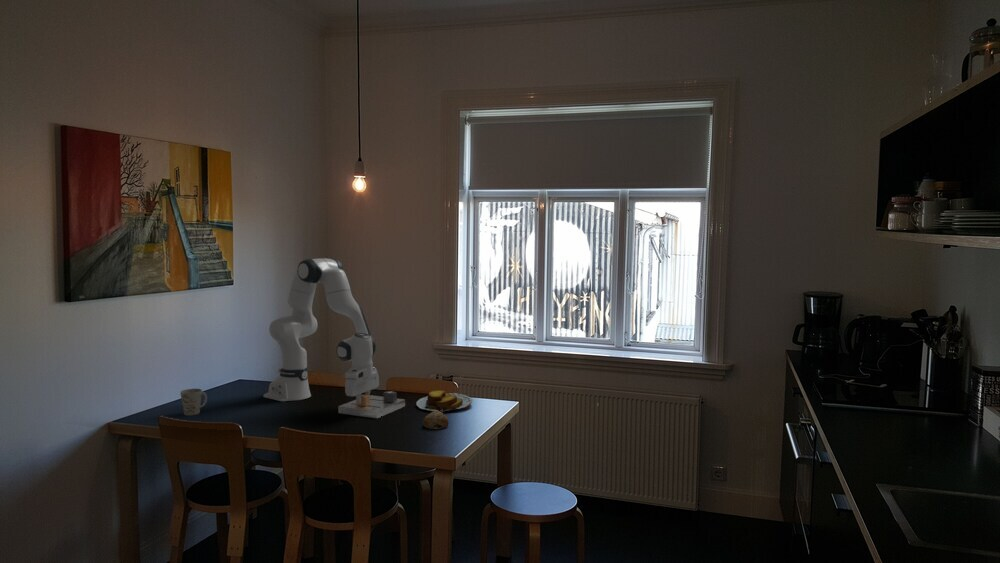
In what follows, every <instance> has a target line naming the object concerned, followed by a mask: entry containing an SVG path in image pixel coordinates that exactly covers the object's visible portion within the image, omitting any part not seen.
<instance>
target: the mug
mask: <svg viewBox="0 0 1000 563" xmlns="http://www.w3.org/2000/svg"><path fill="white" fill-rule="evenodd" d="M202 396H203V397H204V401H203V403H202ZM180 399H181V404H182V409H183V414H184V416H196V415H199V414H200V413H201V412H200V411H201V408H203V407H204V406H206V404H207V401H208V396H207V393H206V392H205V391H203V390H202V389H200V388H187V389H183V390H181V391H180ZM201 403H202V404H201Z"/></svg>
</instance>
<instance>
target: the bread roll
mask: <svg viewBox="0 0 1000 563" xmlns="http://www.w3.org/2000/svg"><path fill="white" fill-rule="evenodd" d="M423 426H424V428H426V429H428V428H429V430H434V429H436V430H442V429H446V428H448V426H449V418H448V417H447V415H446V414H444V412H443V411H431V412H430V413H428V414H427V415H425V417H423ZM445 427H446V428H445ZM441 428H442V429H441Z"/></svg>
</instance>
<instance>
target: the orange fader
mask: <svg viewBox="0 0 1000 563" xmlns="http://www.w3.org/2000/svg"><path fill="white" fill-rule="evenodd" d="M361 399H363V403H360V404H359V403H357V398H356V397H355V400H356V405H361V406H368V405H370V396H369V395H365V394H361Z"/></svg>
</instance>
